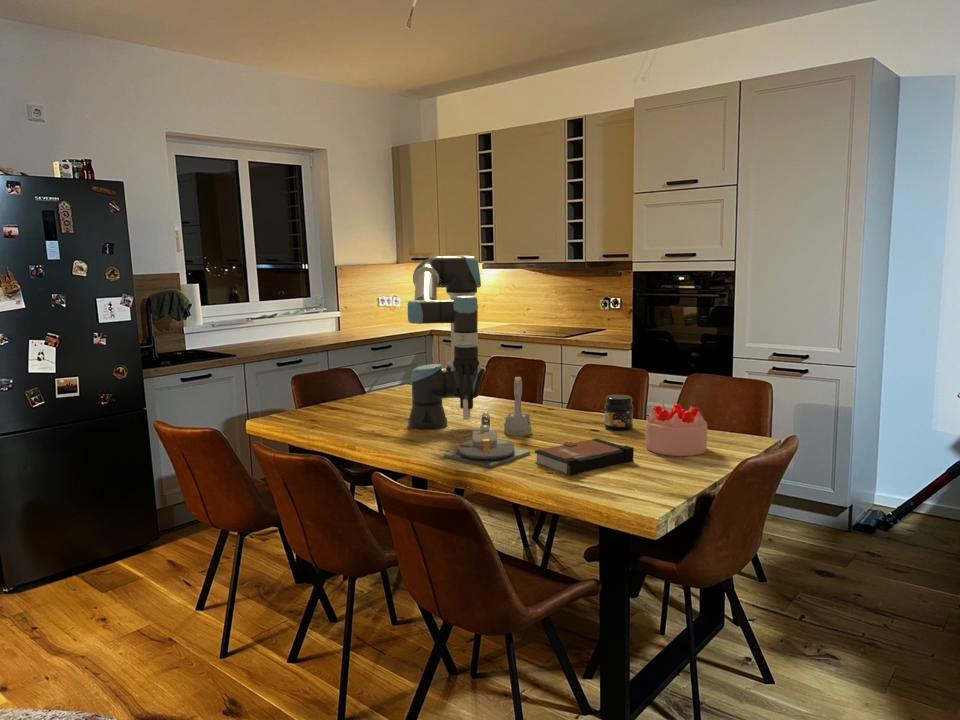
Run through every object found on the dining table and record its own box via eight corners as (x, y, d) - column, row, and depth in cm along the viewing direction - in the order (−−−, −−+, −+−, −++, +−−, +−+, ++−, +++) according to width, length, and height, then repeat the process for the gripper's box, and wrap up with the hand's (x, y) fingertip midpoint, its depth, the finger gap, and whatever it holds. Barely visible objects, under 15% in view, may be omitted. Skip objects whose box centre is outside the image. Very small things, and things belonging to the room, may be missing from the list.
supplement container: (600, 429, 271) (600, 398, 269) (609, 424, 280) (609, 393, 278) (628, 432, 266) (628, 400, 264) (636, 426, 275) (636, 395, 273)
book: (595, 451, 243) (595, 436, 242) (633, 463, 229) (633, 447, 228) (533, 464, 229) (533, 448, 228) (569, 477, 214) (569, 461, 213)
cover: (474, 449, 232) (474, 429, 231) (471, 442, 240) (471, 423, 239) (498, 448, 233) (499, 428, 232) (495, 441, 241) (495, 422, 240)
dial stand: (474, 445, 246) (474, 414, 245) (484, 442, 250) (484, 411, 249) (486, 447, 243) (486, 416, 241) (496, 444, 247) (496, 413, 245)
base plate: (443, 456, 236) (443, 454, 236) (483, 444, 251) (483, 441, 251) (490, 468, 223) (490, 464, 223) (529, 454, 238) (529, 451, 238)
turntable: (460, 444, 246) (460, 427, 245) (513, 444, 245) (513, 427, 245) (457, 459, 228) (457, 440, 227) (515, 459, 228) (514, 440, 227)
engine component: (502, 435, 264) (529, 436, 262) (501, 379, 262) (529, 380, 260) (507, 428, 275) (533, 429, 273) (506, 374, 272) (533, 375, 270)
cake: (633, 447, 245) (634, 406, 243) (672, 438, 257) (673, 399, 255) (680, 460, 229) (681, 416, 227) (719, 450, 241) (721, 408, 239)
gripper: (442, 346, 226) (443, 420, 230) (481, 348, 222) (482, 423, 226) (450, 343, 233) (451, 414, 237) (489, 344, 229) (489, 417, 233)
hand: (466, 418), depth 232 cm, fingers closed
